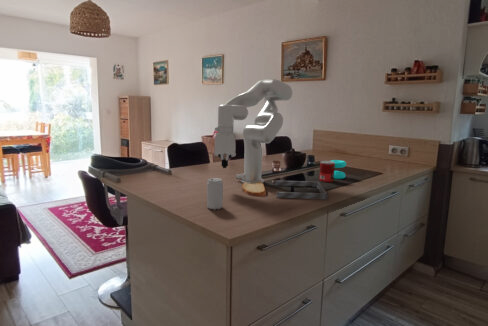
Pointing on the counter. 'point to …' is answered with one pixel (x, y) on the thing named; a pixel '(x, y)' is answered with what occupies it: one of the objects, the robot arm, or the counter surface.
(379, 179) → the counter surface
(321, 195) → the corral
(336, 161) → the donuts
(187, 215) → the counter surface
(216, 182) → the beverage can
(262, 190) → the bread slice
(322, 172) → the canned food
